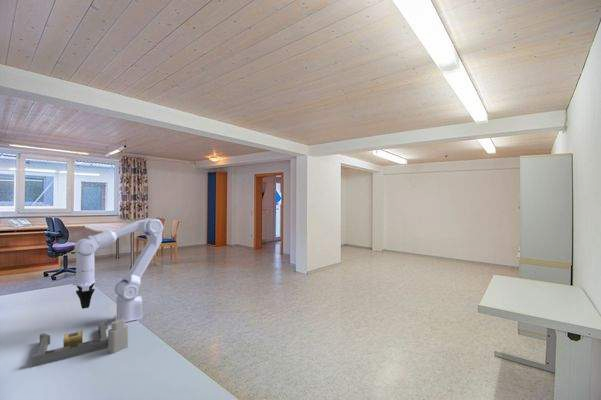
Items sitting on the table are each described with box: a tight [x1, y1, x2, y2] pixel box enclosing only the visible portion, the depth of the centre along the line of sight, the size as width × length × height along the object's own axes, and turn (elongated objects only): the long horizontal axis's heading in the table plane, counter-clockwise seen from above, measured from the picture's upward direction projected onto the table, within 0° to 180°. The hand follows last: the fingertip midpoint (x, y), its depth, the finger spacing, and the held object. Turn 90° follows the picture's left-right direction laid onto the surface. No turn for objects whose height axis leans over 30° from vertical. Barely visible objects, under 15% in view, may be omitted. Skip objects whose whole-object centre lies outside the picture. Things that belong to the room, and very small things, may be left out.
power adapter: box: [107, 314, 129, 354], centre depth 99 cm, size 3×5×12 cm, turn 153°
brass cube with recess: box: [63, 330, 84, 347], centre depth 99 cm, size 5×4×5 cm
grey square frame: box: [31, 320, 109, 368], centre depth 101 cm, size 20×19×3 cm
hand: (85, 305), depth 113 cm, fingers open, 7 cm apart
